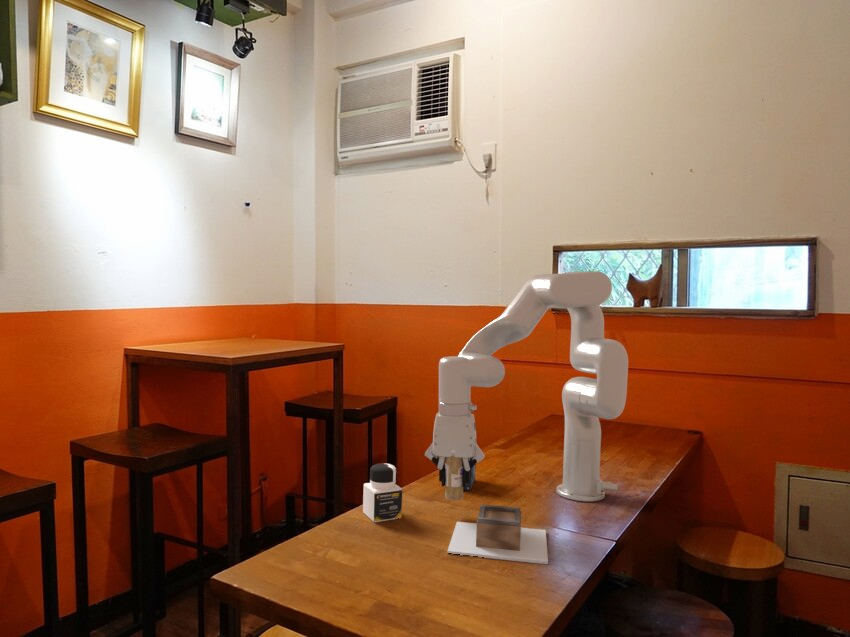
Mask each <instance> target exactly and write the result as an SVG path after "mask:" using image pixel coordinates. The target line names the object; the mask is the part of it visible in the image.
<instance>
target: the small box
mask: <svg viewBox="0 0 850 637" xmlns="http://www.w3.org/2000/svg"><path fill="white" fill-rule="evenodd" d="M476 456H477V454H476V453H475V455H474V457H476ZM474 457H472V458H470V460H472V459H473V458H474ZM476 465H477V463H476V464H475V465H474V466H473V467H472V468H471V469H470V481H469V483H467V485H466V488H463V491H465V492H466V491H471V490H472V488H473V485H474V483H475V481H476V471H477V470H476V467H477V466H476ZM463 469H464V463H463Z"/></svg>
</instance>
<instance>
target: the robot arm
mask: <svg viewBox="0 0 850 637" xmlns="http://www.w3.org/2000/svg"><path fill="white" fill-rule="evenodd" d="M612 292H613V284H612V281H611V279H610V277H609V276H608V275H607V274H606V273H604V272H602V271H600V270H599V271H598V270H592V271H591V270H588V271H587V270H586V271H567V272H562V273H542V274H536V275H532V276H531V277H530V278H529V279H528V280H527V281H526V282H525V283H524V285H523V286H522V287H521V288H520V289H519V291H518V293H517V294H516V295H515V296H514V298H513V299H512V300H511V302H510V303H509V304H508V305H507V307H506V308H505V309H504V311H503V312H502V313H501V314H500V315H499V316H498V317H497V318H495V319H494V320H493V321H491V322H489V323H488V324H487V325H486V326H484V327H483V328H482V329H480V330H478V331H477V332H476V333H475V334H474V335H473V336H472V337H471V338H470V340H468V342H467V343H466V344H465V346H464V347H463V348H462V349H461V351H460V352H459V354H458V355H456V356H455V355H452V356H443V357H441V358H440V359H439V362H438V412H437V413H436V414H435V419H434V423H433V424H434V425H433V432H432V443H431V444H429V445H430V446H429V447H427V449H426V451H425V452H424V457H426V458H428V459H429V460H430V461H431V462H432V463H433V464H434V465H435V466H436V467H437V469H438V481H439V482H441V487H442V488H443V487H445V486H446V485H445V457H451V456H452V455H453V456H455V457H457V458H462V459H463V463H464V469H463V488H466V485H467V483H469V481H470V469H471V468H472V467H473V466H474V465H475V464H476V465H477V463H479V462H481V461H483V460H484V459H485V453H484V452H483V451H482V449H481V448H480V446H479V444H478V443H477V429H476V420H475V415H474V414H473V413H472V412H474V411H477V409H478V408H477V404H473V403H472V401H471V398H472V397H471V393H472V392H471V391H472V390H471V387H479V388H491V387H495V386H497V385H498V384H500V383H501V382H502V381H503V380H504V377H505V375H506V368H505V365H504V363H503V362H502V361H501V360H500V359H499V358H497V357H495V356H492V355H493V354H494V353H496V352H497V351H498V350H500V349H501V348H504V347H506V346H509V345H510V344H515V343H517V342H519V341H521V340H524V339H526V338H528V337H529V336H530V335H531V333H532V332H533V330H534V329H535V328H536V326H537V325H538V323H539V322H540V321H541V319H543V317H544V315H545V314H546V312H547V311H548V310H549V309H566V310H567V311H568V313H569V316H570V322H571V327H570V329H571V330H570V343H569V344H570V346H569V348H570V349H569V362H570V365H571V366H572V368H573V369H575V370H577V371H578V372H583V373H587V374H593V375H596V378H591V377H588V376H587V377H586V376H576V377H572V378H570V379H569V380H568V381H566V382H565V384H564V385H563V388H562V392H561V400H562V407H563V412H564V437H563V438H564V439H563V440H564V441H563V442H564V443H563V461H562V462H563V463H562V464H563V465H562V466H563V468H562V483H560V484H559V485H557V487H556V494H558V495H559V496H561V497H563V498H565V499H569V500H573V501H577V502H597V501H602V500H603V499H604V498H605V497H606V491H610V492H616V493H617V492H618V490H619V489H618V488H619V487H618V484H617V483H612V481H603V480H602V478H601V477H600V474H601V472H600V471H601V442H602V428H601V427H602V426H601V422H600V419H604V420H614V419H616V418H618V417H619V416H621V414H622V413H623V411H624V410H625V406H626V401H627V394H628V376H629V356H628V353H627V352H628V351H627V350H626V348H625V346H624V345H623V344H622V343H621V342H619V341H618V340H615V339H611V338H605V318H604V317H605V316H604V312H603V311H602V310H603V309H602V308H601V307H600V305H601V304H603V303H606V301H608V300H609V298H610V296H611V295H612ZM452 450H455V453H452V452H451V451H452ZM451 453H452V454H451ZM475 453H476V457H474V455H475ZM472 457H474V458H473V459H472V460H470V458H472Z"/></svg>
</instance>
